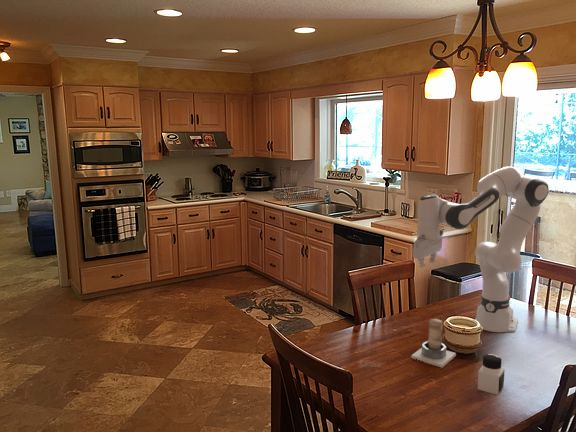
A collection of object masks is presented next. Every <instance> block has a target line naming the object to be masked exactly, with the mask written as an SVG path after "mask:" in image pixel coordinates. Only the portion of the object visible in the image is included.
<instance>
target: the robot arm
mask: <svg viewBox="0 0 576 432" xmlns="http://www.w3.org/2000/svg"><path fill="white" fill-rule="evenodd" d="M476 191H477V194H478V195H477V197H475V198H473V199H472V200H471V201H469V202H467V203H455V202H451V201H449V200H446V199H443V198H441V197H439V195H438V194H433V193H432V194H426V195H423V196H421V197H420V198H419V200H418V205H417V219H418V221H417V222H418V223H417V224H416V225H417V226H416V227H417V228H416V229H417V231H416V237H417V238H416V239H415V241H414V242H413V248H412V249H413V250H412V257H413V258H414V259H417V261H418V264H419V268H420V269H421V268H422V269H423V268H425V267H426V263H425V261H424V260H425V258H427V257H430V258H429V260H428V261H429V263H430V264H431V263H432V264H434V263H435V262H436V257H437V252H440V251H441V250H442V245H443V235H444V230H443V229H440V224H443V225H446V226H450V227H451V228H453V229H456V230H464V229H466V228H467V227H468V226H469V225H471V223H472V222H473V221H474V220H475V218H477V217H478V216H479V215H481V214H482V213H484V212H485V211H486V210H487V209H489V208H490V207H492V206H494V204H495V203H497V202H498V201H499V199H500V198H502V197H503V196H506V197H510V198H512V199H515V204H514V206H513V207H512V208H511V210H510V211H509V212H508V213H507V216H506V217H505V219H504V221H503V222H502V224H501V225H500V227H499V234H500V235H499V236H500V237H499V239H498V242H497V243H496V242H493V241H482V242H480V243H478V244H477V246H476V247H475V251H474V255H475V257H476V260H477V262H478V263H479V267H480V269H479V270H480V272H481V277H482V289H481V291H482V292H481V296H480V304H479V305H477V309H476V317H475V318H474V319H475V320H477V321H478V322H479V323H480V324H481V326H482V327H483V328H484V329H483V330H484V331H487V332H492V333H506V332H510V333H515V332H516V330H517V326H518V323H519V319H518V318H516V317H515V316H514V309H513V308H512V307H511V306H510V300H511V296H510V295H509V290H510V289H509V287H510V282H509V279H508V278H507V275H506V274H512V273H513V274H514V273H516V272H517V271H518V270H519V268H520V267H521V266H522V265H521V264H522V258H521V249H522V245H523V243H524V240H525V238H526V237H527V236H528V233H529V232H530V230H531V229H532V227H533V225H534V224H535V222H536V220H537V217H538V215H539V213H540V210H541V204H542V203H544V201H545V200H546V199H547V198H548V194H549V191H550V190H549V184H548V183H547V182H546V181H544V180H542V179H540V178H537V177H533V176H530V175H523V174H521V173H520V171H519V170H518V169H517V168H515V167H513V166H510V165H509V166H504V167H502V168H500V169H496V170H495V171H492V172H491V173H488V174H487V175H485V176H483V177H482V178H481V179H480V180H478V182H477V185H476Z"/></svg>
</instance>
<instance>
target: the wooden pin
mask: <svg viewBox="0 0 576 432" xmlns="http://www.w3.org/2000/svg"><path fill="white" fill-rule="evenodd" d="M442 339H443V320H441V319H437V318H430V319H429V325H428V339H427V341H428V348H429V349H432V350H441V343H442Z"/></svg>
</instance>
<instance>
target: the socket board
mask: <svg viewBox="0 0 576 432" xmlns="http://www.w3.org/2000/svg"><path fill="white" fill-rule="evenodd" d="M456 356H457V353H456V352H453V351H450V350H447V346H446V345H445V344H444V343H442V342H441V350H432V349H429V348H428V340H427V341H425V342H423V343H422V344H421V348H419V349H418V350H416V351H415V352H414V353H413V354H411V359H413V360H416V359H417V360H416V361H419V360H420V361H419V362H422V361H423V362H424V363H425V364H429V365H432V366H436V367H439V368H440V369H441V368H442V369H443V368H444V367H445V366H446V365H447V364H449V362H450V361H452V360H453V359H455V357H456Z"/></svg>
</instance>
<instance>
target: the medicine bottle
mask: <svg viewBox="0 0 576 432" xmlns="http://www.w3.org/2000/svg"><path fill="white" fill-rule="evenodd" d="M502 362H503V361H502V358H501V357H500V356H499V355H496V354H493V353H488V354H484V355H483V356H482V365H481V367H480V369H479V370H478V374H477V390H479V391H483V392H485V393H490V394H493V395H496V396H500V393H501V392H502V390H503V389H504V387H505V368H504V367H502Z"/></svg>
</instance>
